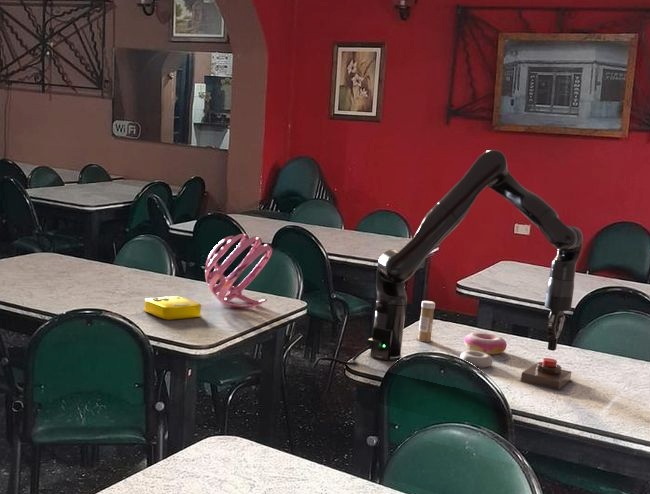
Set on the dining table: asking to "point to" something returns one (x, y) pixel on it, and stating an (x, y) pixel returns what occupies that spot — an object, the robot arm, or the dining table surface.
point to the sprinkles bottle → (426, 321)
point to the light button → (549, 362)
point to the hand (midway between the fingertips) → (551, 349)
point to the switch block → (546, 376)
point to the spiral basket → (227, 282)
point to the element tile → (172, 307)
